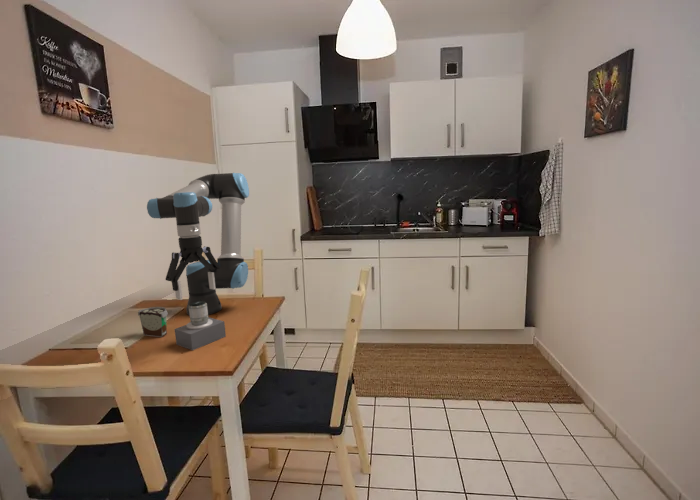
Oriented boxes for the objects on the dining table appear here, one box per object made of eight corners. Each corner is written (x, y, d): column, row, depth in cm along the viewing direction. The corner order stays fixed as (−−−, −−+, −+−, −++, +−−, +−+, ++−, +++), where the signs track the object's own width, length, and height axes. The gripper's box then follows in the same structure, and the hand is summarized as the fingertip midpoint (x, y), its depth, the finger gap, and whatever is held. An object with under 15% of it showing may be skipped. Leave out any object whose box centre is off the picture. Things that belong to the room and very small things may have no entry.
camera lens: (212, 321, 141) (210, 300, 139) (199, 327, 135) (197, 306, 134) (200, 319, 143) (197, 299, 142) (186, 324, 138) (184, 304, 136)
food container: (177, 331, 150) (174, 307, 149) (165, 337, 145) (162, 312, 143) (153, 329, 154) (150, 305, 153) (140, 334, 149) (137, 310, 147)
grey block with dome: (175, 344, 138) (172, 326, 137) (208, 331, 149) (206, 314, 148) (192, 350, 132) (190, 332, 131) (225, 336, 143) (224, 319, 142)
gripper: (161, 242, 121) (169, 305, 125) (225, 231, 142) (231, 286, 145) (149, 241, 126) (157, 302, 130) (213, 231, 146) (219, 284, 150)
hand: (196, 293), depth 138 cm, fingers open, 13 cm apart
